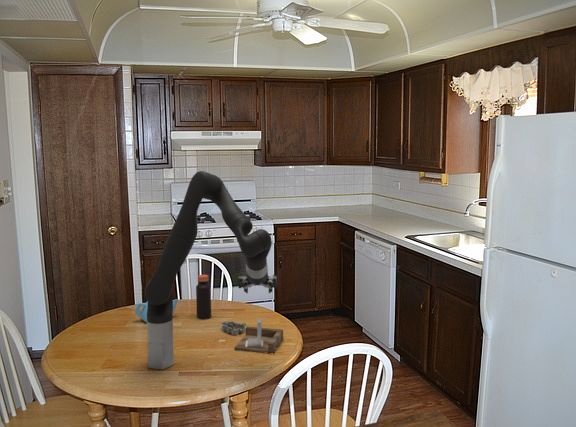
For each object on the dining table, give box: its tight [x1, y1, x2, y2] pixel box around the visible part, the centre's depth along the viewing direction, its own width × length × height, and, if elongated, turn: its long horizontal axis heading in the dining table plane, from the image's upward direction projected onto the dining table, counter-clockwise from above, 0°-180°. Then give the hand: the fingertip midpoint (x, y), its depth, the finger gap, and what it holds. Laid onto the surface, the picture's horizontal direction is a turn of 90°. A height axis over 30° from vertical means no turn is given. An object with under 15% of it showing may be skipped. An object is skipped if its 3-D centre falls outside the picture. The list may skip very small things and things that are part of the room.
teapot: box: [134, 298, 179, 324], centre depth 242 cm, size 15×15×11 cm
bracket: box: [247, 317, 262, 347], centre depth 209 cm, size 6×5×10 cm
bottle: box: [195, 274, 212, 320], centre depth 244 cm, size 7×7×20 cm
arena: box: [233, 325, 284, 354], centre depth 213 cm, size 16×16×4 cm
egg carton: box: [220, 320, 247, 336], centre depth 228 cm, size 11×8×4 cm
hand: (258, 291), depth 196 cm, fingers open, 8 cm apart
